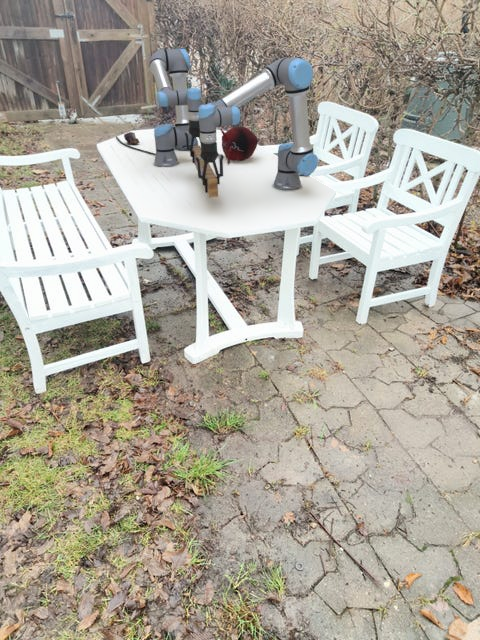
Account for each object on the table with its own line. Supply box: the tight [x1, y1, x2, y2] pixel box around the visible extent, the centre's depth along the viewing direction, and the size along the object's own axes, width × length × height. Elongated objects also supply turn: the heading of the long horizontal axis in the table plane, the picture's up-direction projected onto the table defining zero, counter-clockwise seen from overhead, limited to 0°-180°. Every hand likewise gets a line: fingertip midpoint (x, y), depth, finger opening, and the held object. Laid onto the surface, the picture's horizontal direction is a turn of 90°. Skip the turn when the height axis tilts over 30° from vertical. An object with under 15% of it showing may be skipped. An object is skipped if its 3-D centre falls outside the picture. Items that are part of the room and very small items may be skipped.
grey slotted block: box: [174, 137, 199, 151], centre depth 321 cm, size 17×18×20 cm
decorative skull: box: [220, 126, 259, 165], centre depth 296 cm, size 21×24×25 cm
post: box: [193, 145, 219, 198], centre depth 240 cm, size 65×4×8 cm, turn 12°
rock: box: [123, 131, 140, 145], centre depth 337 cm, size 12×9×10 cm
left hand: (197, 162), depth 263 cm, fingers closed on post, 4 cm apart
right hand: (211, 191), depth 220 cm, fingers closed on post, 4 cm apart
